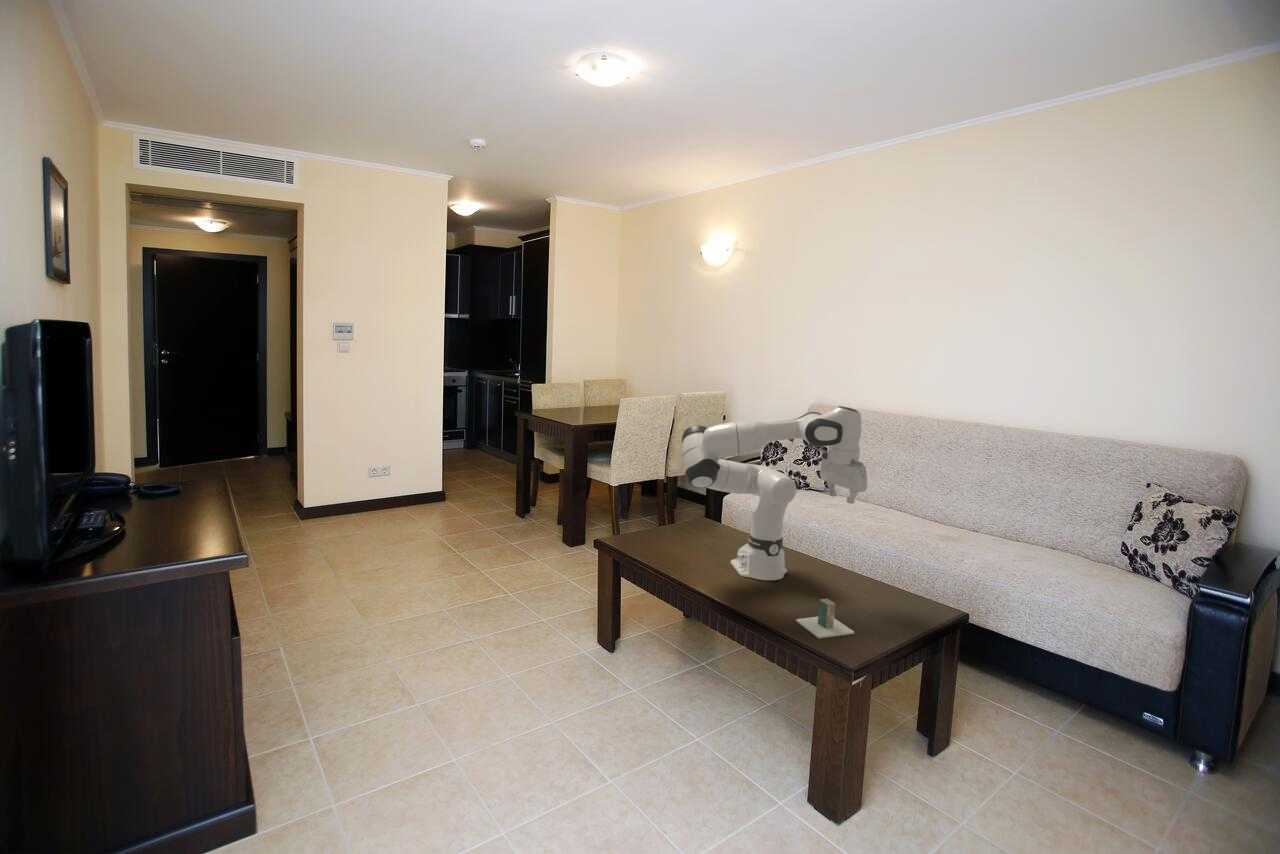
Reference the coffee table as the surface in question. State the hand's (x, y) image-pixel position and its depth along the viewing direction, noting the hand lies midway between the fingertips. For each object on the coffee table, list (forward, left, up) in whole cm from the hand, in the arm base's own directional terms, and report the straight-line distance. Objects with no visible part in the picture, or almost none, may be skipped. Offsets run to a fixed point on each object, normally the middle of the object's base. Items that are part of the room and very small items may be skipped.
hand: (841, 499), depth 210 cm
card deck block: (+17, -15, -34) cm, 40 cm away
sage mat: (+17, -15, -34) cm, 41 cm away
